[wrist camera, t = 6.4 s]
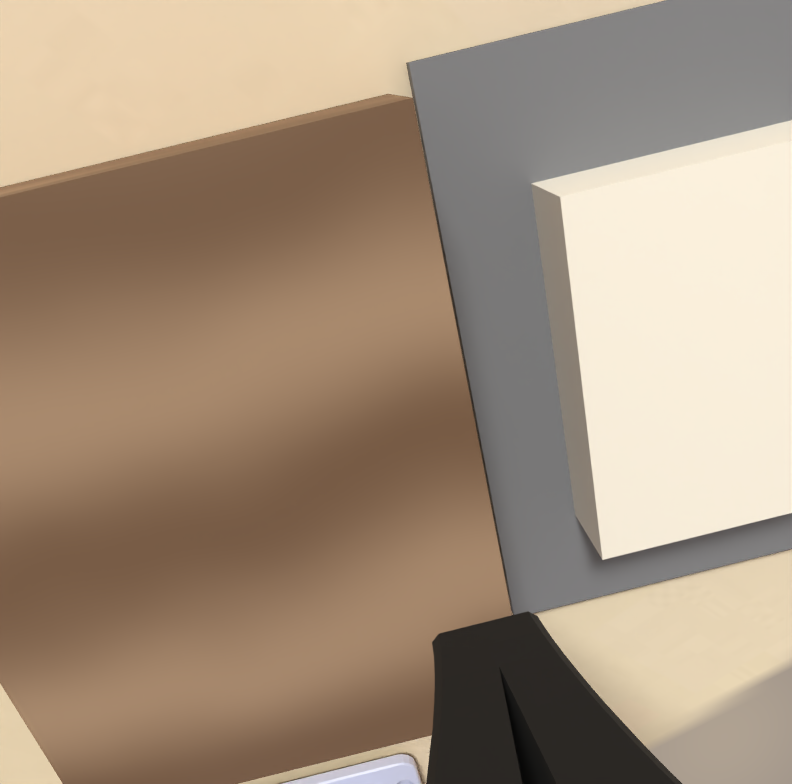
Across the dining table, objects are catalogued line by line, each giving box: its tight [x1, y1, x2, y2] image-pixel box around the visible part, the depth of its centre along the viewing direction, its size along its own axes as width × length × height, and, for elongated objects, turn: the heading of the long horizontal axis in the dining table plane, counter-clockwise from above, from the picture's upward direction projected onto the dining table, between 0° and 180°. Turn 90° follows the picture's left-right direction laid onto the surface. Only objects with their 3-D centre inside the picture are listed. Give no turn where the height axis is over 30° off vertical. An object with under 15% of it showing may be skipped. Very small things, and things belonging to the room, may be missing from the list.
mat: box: [406, 0, 792, 615], centre depth 18 cm, size 15×10×1 cm, turn 12°
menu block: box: [531, 120, 792, 560], centre depth 17 cm, size 9×6×2 cm, turn 12°
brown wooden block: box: [0, 94, 512, 784], centre depth 16 cm, size 14×11×4 cm
